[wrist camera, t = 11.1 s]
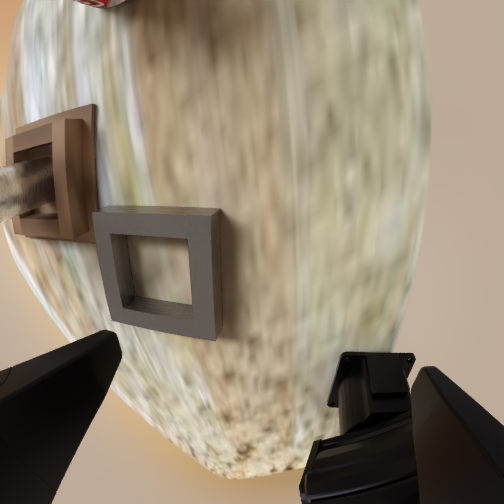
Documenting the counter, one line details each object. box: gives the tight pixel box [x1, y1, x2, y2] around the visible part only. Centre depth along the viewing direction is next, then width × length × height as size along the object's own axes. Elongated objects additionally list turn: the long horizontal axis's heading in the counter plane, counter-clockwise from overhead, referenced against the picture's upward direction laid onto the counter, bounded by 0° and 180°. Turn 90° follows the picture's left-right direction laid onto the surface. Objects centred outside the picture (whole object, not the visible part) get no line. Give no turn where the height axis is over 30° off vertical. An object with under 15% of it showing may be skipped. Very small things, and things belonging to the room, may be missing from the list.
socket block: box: [92, 206, 223, 341], centre depth 20 cm, size 9×9×2 cm
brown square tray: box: [5, 104, 99, 243], centre depth 19 cm, size 11×11×2 cm
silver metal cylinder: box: [0, 157, 56, 223], centre depth 15 cm, size 4×4×11 cm
